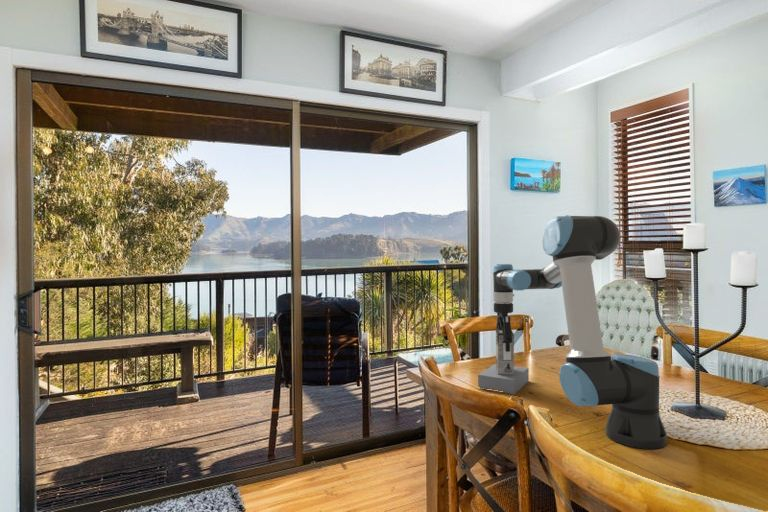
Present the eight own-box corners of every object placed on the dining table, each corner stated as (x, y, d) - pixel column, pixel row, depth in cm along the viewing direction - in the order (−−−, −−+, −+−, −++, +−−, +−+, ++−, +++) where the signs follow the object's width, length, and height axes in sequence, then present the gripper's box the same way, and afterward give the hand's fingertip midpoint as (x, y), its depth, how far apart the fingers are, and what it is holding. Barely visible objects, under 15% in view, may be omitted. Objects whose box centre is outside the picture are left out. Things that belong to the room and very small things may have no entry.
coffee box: (495, 368, 183) (495, 329, 183) (511, 368, 182) (511, 329, 182) (497, 374, 174) (497, 333, 174) (514, 375, 173) (514, 333, 173)
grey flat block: (514, 396, 167) (514, 380, 167) (478, 390, 174) (478, 374, 174) (528, 382, 184) (528, 367, 183) (495, 377, 191) (495, 363, 191)
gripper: (520, 306, 166) (520, 363, 166) (506, 299, 191) (506, 348, 191) (499, 306, 166) (500, 363, 167) (488, 299, 191) (489, 348, 191)
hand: (503, 355), depth 179 cm, fingers open, 13 cm apart
